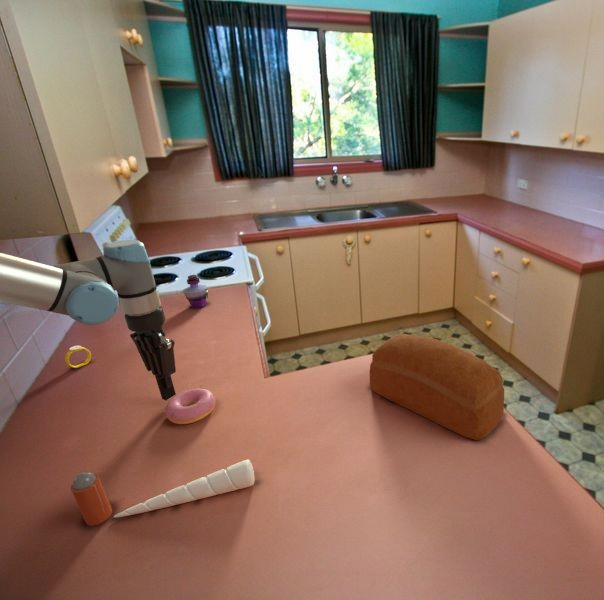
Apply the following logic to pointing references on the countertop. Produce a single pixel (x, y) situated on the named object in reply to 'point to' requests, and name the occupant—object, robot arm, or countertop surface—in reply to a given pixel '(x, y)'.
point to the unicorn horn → (200, 488)
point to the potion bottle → (195, 292)
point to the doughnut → (190, 406)
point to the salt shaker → (91, 498)
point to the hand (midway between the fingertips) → (169, 396)
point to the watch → (74, 349)
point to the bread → (439, 383)
